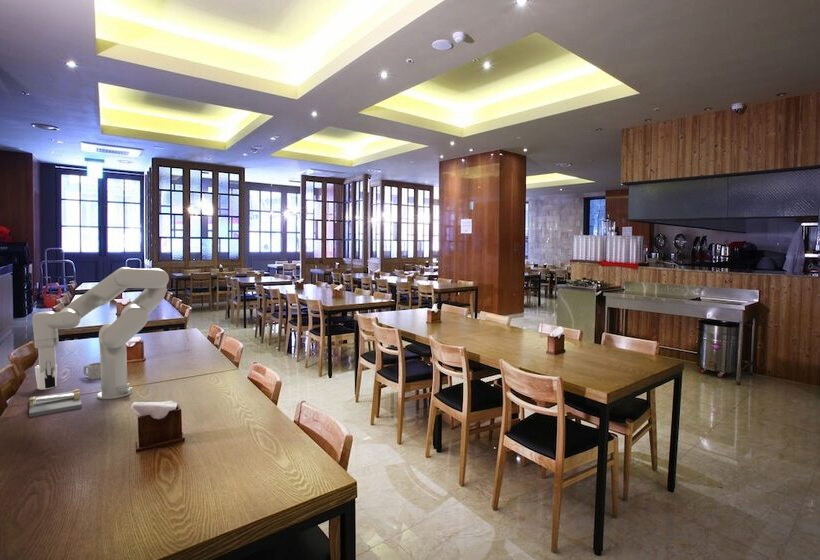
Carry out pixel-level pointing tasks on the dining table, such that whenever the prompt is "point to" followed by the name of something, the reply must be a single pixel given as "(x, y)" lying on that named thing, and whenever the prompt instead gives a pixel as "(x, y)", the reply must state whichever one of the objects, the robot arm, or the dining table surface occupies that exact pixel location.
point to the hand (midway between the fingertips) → (50, 387)
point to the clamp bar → (54, 397)
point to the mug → (93, 371)
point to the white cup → (43, 378)
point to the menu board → (54, 404)
